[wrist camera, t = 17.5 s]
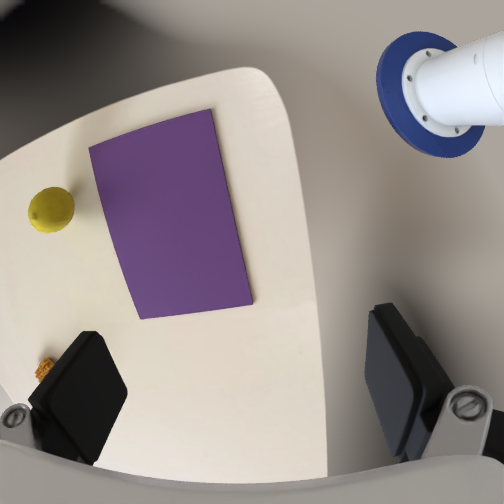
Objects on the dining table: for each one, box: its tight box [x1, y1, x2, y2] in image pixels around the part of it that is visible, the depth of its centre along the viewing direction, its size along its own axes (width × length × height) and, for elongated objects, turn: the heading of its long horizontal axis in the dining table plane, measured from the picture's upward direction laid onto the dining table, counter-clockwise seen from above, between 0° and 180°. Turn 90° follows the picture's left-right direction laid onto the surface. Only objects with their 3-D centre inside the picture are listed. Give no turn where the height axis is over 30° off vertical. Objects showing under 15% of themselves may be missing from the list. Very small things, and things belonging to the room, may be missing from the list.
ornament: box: [35, 358, 54, 383], centre depth 44 cm, size 7×10×15 cm
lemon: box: [28, 187, 74, 233], centre depth 31 cm, size 6×6×8 cm
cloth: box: [89, 109, 253, 319], centre depth 35 cm, size 24×16×1 cm, turn 11°
